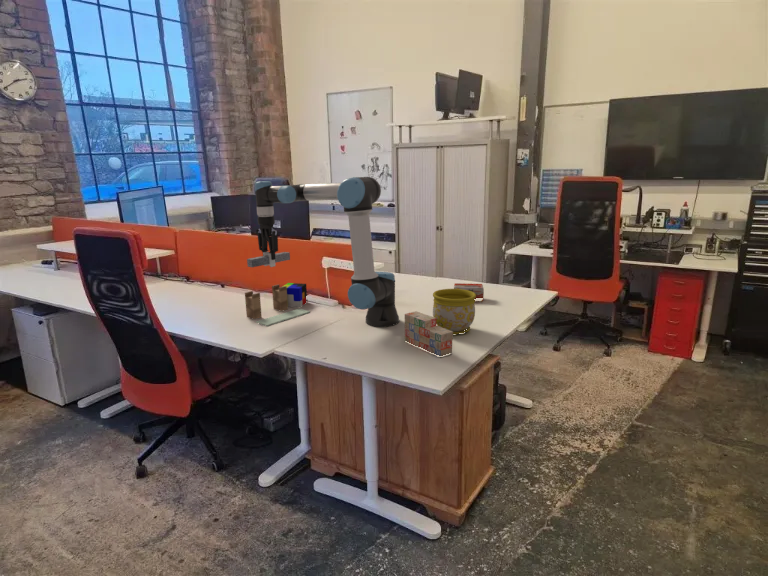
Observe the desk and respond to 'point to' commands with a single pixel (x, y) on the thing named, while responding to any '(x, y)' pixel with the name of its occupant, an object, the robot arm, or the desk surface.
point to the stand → (255, 306)
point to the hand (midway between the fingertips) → (269, 265)
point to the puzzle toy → (296, 294)
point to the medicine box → (471, 288)
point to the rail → (267, 259)
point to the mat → (282, 317)
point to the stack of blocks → (427, 333)
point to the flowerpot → (454, 309)
